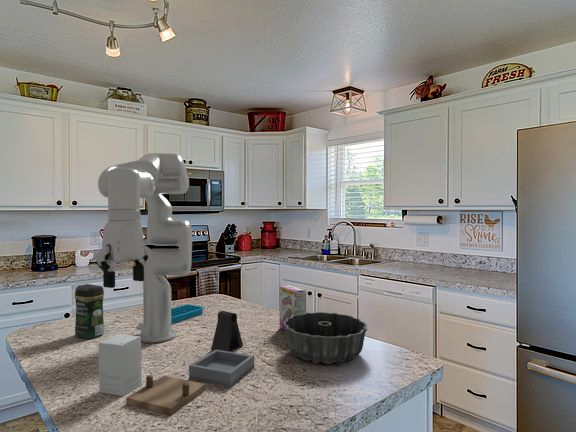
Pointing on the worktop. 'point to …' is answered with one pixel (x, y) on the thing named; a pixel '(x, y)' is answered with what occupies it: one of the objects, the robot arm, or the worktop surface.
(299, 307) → the candy bar box
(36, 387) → the worktop surface
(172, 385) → the peg stand
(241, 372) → the tray
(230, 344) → the phone stand
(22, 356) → the worktop surface
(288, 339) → the bundt pan
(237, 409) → the worktop surface
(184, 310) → the ice cube tray
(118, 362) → the supplement box
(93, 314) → the coffee jar
